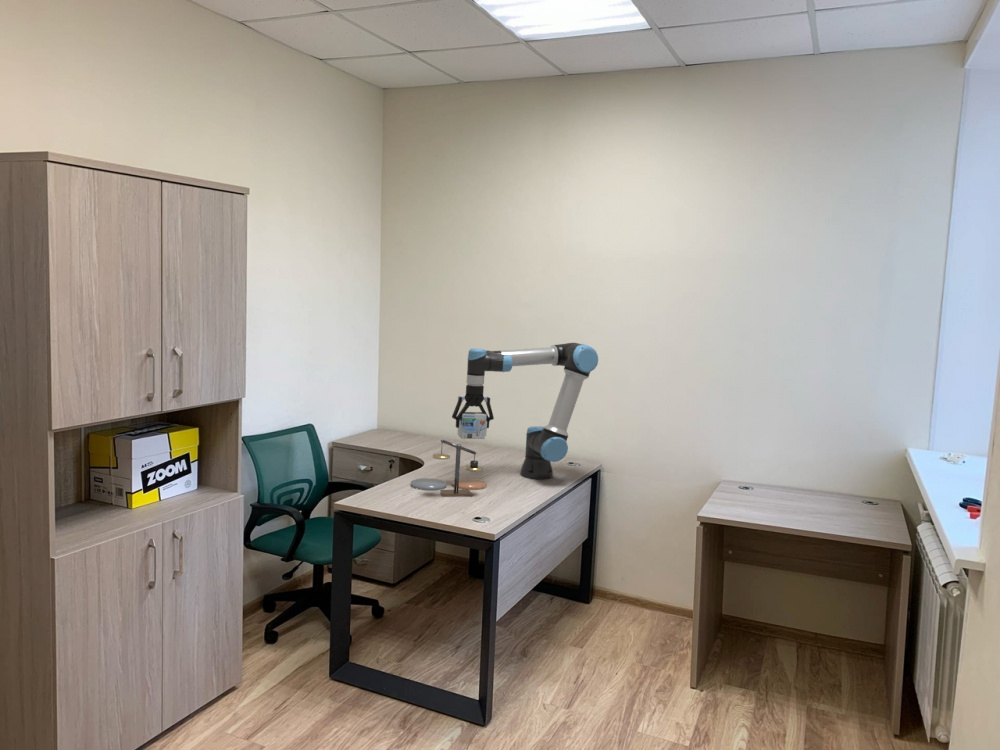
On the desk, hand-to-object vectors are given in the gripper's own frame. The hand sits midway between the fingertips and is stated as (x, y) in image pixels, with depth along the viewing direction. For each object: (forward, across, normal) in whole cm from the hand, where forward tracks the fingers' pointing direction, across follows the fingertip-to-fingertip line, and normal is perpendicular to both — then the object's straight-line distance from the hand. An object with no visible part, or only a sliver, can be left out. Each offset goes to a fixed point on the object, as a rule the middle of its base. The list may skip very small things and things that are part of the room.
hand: (471, 435), depth 331 cm
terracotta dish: (+22, 0, 0) cm, 22 cm away
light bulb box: (+1, 0, 0) cm, 1 cm away
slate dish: (+22, +18, 0) cm, 28 cm away
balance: (+22, +9, +14) cm, 28 cm away
